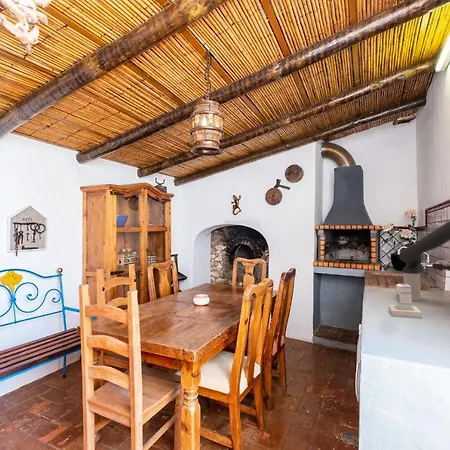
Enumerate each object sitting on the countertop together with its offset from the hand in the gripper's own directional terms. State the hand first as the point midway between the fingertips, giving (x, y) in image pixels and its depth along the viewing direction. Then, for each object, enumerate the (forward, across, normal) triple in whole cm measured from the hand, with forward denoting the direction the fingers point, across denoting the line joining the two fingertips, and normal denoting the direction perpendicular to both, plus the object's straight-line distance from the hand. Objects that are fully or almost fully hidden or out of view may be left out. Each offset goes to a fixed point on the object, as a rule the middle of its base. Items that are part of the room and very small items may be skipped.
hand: (434, 266), depth 160 cm
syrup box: (+15, +7, +24) cm, 30 cm away
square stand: (+15, +7, +25) cm, 30 cm away
